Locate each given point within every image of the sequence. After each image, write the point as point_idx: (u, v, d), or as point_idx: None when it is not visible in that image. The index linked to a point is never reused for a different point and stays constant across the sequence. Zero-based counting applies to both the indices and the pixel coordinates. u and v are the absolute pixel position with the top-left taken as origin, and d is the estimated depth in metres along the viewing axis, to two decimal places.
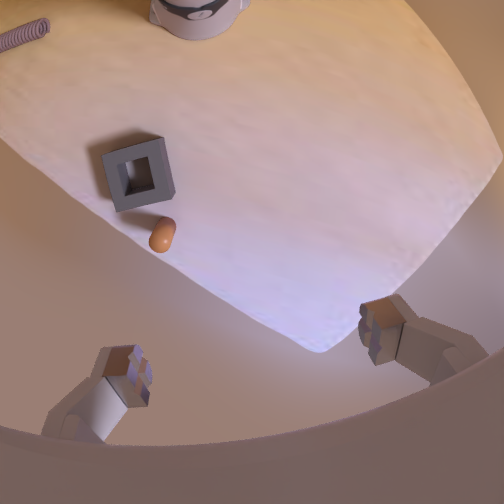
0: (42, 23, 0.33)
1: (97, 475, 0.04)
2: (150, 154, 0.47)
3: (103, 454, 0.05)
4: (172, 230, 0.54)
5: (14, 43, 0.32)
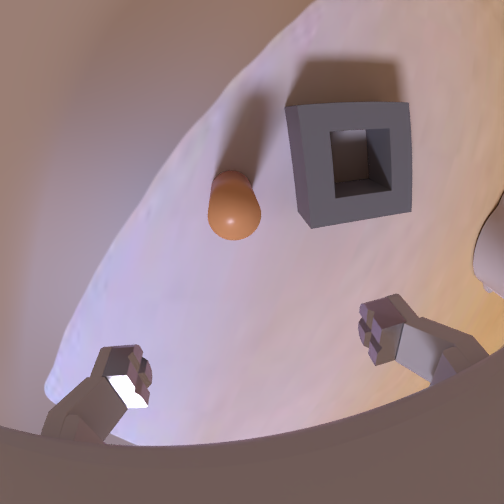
0: None
1: (97, 475, 0.04)
2: (393, 196, 0.26)
3: (103, 454, 0.05)
4: None
5: None
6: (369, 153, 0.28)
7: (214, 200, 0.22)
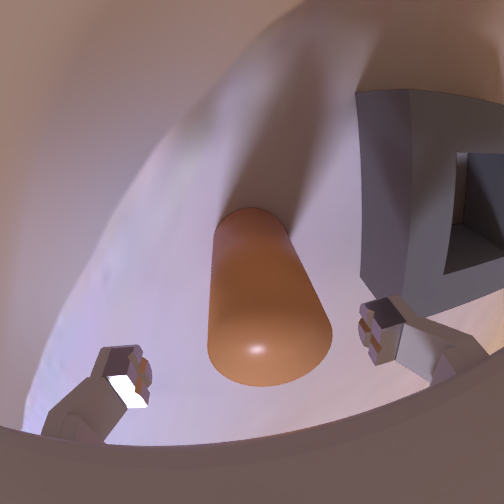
0: None
1: (97, 475, 0.04)
2: None
3: (103, 454, 0.05)
4: None
5: None
6: (470, 185, 0.15)
7: (223, 319, 0.08)
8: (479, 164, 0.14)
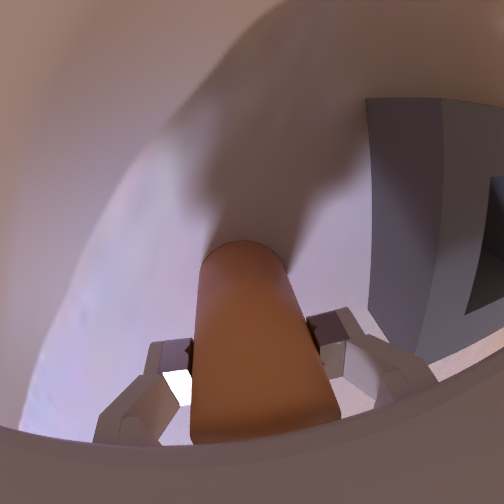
0: None
1: (97, 475, 0.04)
2: None
3: (103, 454, 0.05)
4: None
5: None
6: (489, 202, 0.13)
7: (206, 414, 0.06)
8: (500, 180, 0.12)
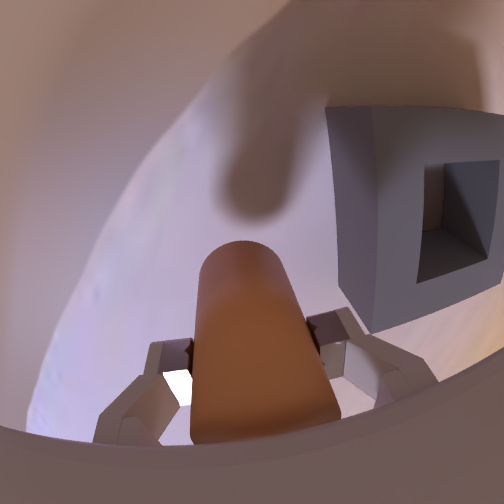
0: None
1: (97, 475, 0.04)
2: (487, 266, 0.14)
3: (103, 454, 0.05)
4: None
5: None
6: (448, 190, 0.16)
7: (206, 413, 0.06)
8: (456, 169, 0.15)
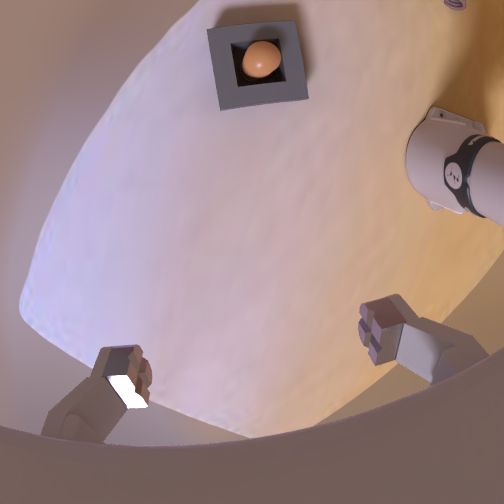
0: (457, 4, 0.28)
1: (97, 475, 0.04)
2: (288, 85, 0.32)
3: (103, 454, 0.05)
4: (264, 76, 0.32)
5: None
6: None
7: (250, 46, 0.27)
8: None
